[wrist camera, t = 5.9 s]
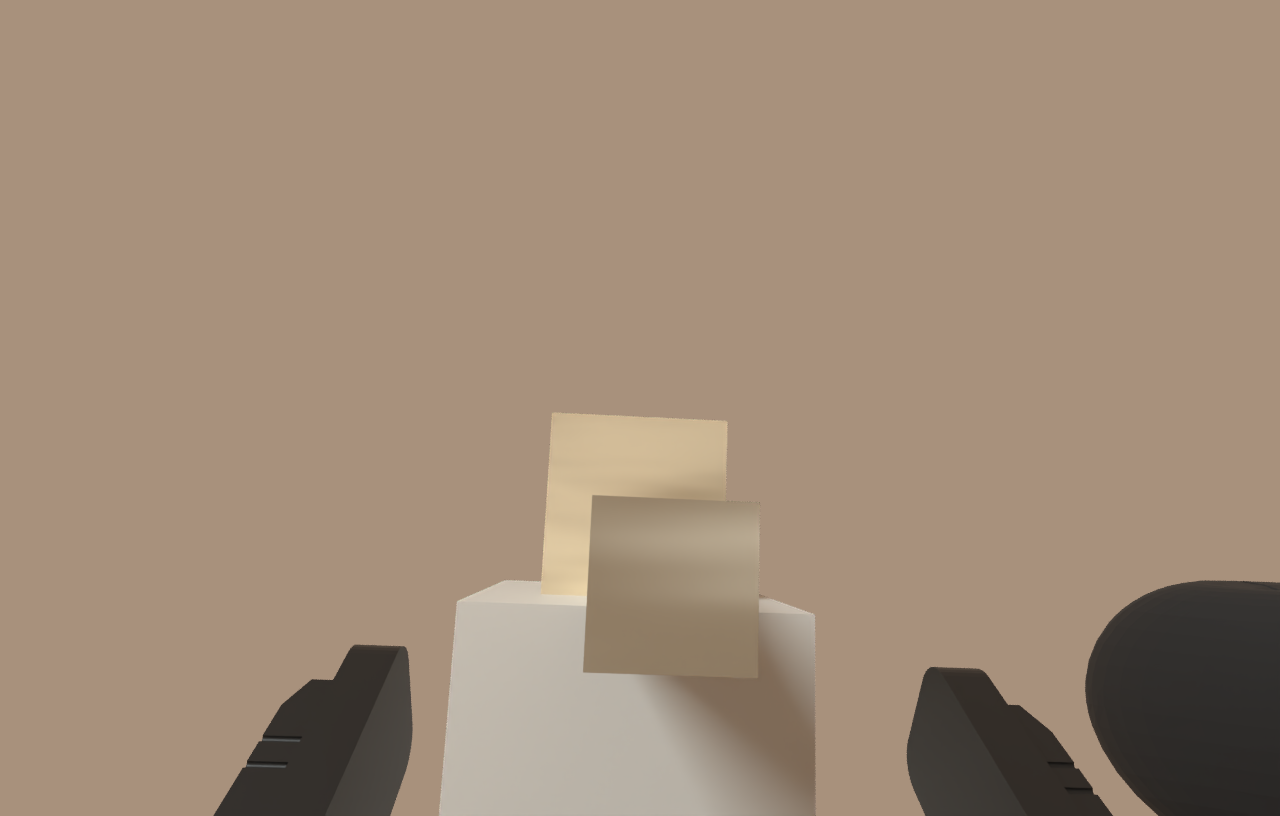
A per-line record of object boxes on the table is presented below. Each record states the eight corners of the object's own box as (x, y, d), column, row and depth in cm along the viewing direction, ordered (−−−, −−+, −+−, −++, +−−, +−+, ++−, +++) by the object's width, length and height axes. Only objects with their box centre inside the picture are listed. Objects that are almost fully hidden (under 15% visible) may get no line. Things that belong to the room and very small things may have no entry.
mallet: (553, 582, 29) (562, 436, 30) (699, 588, 30) (703, 443, 31) (458, 668, 10) (492, 263, 11) (878, 682, 10) (871, 285, 11)
